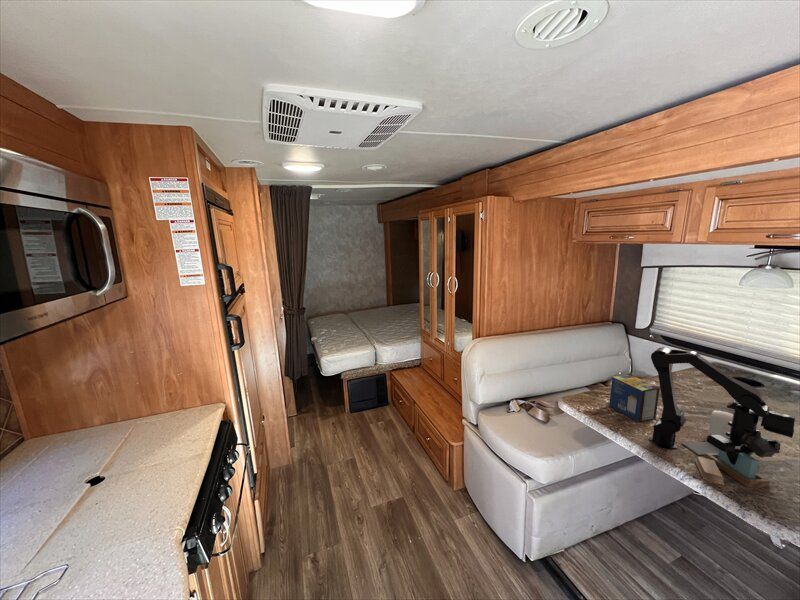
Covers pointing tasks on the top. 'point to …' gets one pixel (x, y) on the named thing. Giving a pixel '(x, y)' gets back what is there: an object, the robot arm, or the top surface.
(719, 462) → the walnut rack
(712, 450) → the charcoal mat
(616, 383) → the protein box
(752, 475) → the teal block
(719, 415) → the photo printer
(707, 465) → the offcut stack
